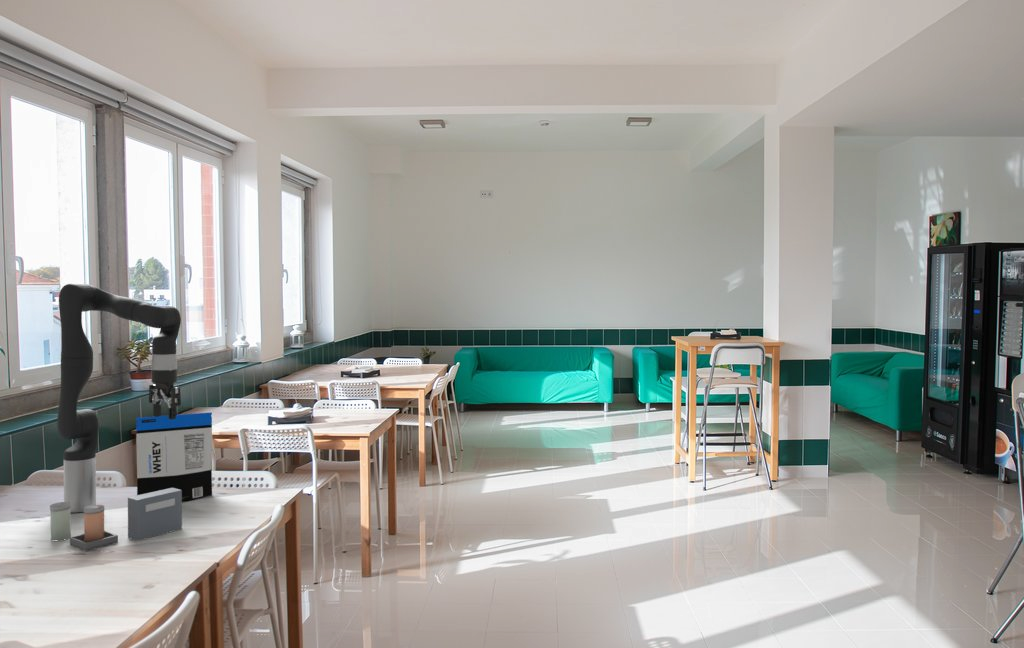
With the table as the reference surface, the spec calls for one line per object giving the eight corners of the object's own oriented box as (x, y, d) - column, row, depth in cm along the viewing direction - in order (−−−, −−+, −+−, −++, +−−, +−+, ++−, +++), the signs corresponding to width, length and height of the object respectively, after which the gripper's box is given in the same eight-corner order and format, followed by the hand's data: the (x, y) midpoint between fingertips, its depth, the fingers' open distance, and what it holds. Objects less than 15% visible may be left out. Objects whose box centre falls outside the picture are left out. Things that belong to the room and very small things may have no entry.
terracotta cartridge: (80, 542, 210) (80, 507, 210) (99, 537, 215) (98, 503, 214) (89, 545, 207) (89, 510, 207) (108, 540, 212) (108, 506, 211)
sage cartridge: (47, 538, 215) (46, 505, 215) (65, 534, 219) (65, 501, 219) (55, 542, 212) (55, 508, 212) (74, 537, 216) (74, 503, 216)
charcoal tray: (69, 545, 210) (69, 537, 210) (101, 536, 217) (101, 529, 217) (85, 551, 205) (85, 543, 205) (118, 542, 212) (118, 535, 212)
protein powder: (214, 498, 260) (214, 414, 259) (138, 508, 247) (138, 419, 246) (209, 492, 268) (209, 410, 267) (135, 501, 255) (134, 415, 254)
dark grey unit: (127, 537, 217) (127, 497, 216) (171, 525, 228) (171, 487, 228) (138, 541, 214) (137, 500, 213) (182, 528, 225) (182, 490, 225)
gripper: (140, 367, 238) (141, 417, 238) (165, 370, 230) (166, 421, 230) (162, 365, 244) (163, 414, 244) (188, 368, 236) (188, 418, 236)
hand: (164, 417), depth 237 cm, fingers open, 8 cm apart
